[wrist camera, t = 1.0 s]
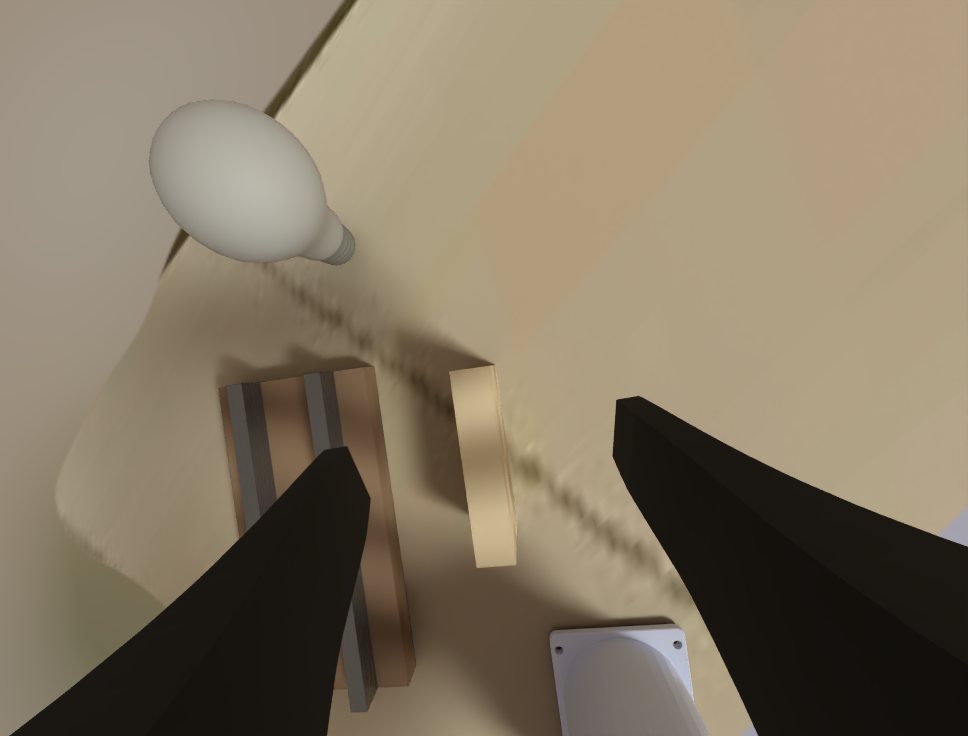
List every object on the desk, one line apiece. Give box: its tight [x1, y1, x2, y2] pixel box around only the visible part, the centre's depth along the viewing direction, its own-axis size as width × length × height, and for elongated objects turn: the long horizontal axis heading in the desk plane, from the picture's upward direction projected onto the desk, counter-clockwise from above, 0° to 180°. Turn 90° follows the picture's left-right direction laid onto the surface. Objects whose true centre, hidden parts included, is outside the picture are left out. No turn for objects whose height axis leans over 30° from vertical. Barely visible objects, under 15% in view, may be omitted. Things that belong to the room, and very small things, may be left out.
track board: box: [218, 367, 416, 712], centre depth 22 cm, size 20×10×3 cm, turn 8°
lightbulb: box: [149, 100, 355, 265], centre depth 17 cm, size 6×6×11 cm
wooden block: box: [449, 365, 517, 568], centre depth 19 cm, size 10×2×5 cm, turn 8°
